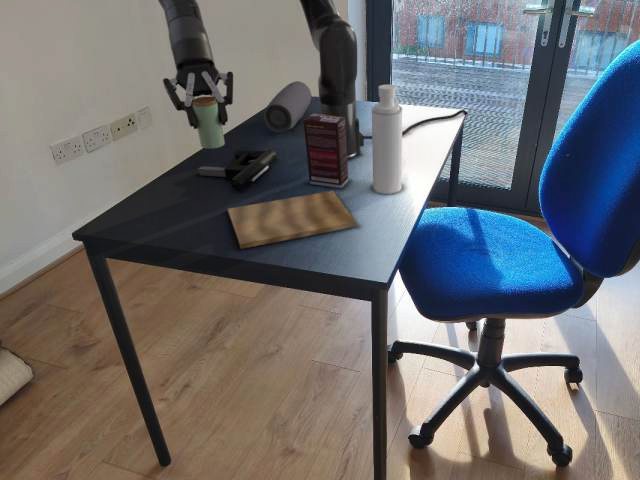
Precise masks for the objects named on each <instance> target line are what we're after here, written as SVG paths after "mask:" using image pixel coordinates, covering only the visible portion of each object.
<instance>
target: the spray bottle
mask: <svg viewBox="0 0 640 480" xmlns="http://www.w3.org/2000/svg"><path fill="white" fill-rule="evenodd" d="M395 97H396V86H395V85H393V84H381V85H378V98H379V102H376V103H375V104H374V105H373V106H372V107H371V136H372V139H371V142H372V143H371V145H372V147H371V148H372V150H371V151H372V188H373V191H375V192H376V193H379V194H384V195H392V194H396V193H398V192H400V191H401V190H402V179H403V178H402V176H403V175H402V174H403V173H402V170H403V168H402V167H403V165H402V164H403V161H402V160H403V136H402V132H403V107H402V106H401V105H400V104H399V103H397V102H395Z"/></svg>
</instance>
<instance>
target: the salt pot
mask: <svg viewBox="0 0 640 480" xmlns="http://www.w3.org/2000/svg"><path fill="white" fill-rule="evenodd" d="M192 106H193V110H194V114H195V118H196V122H197V127H198V129H196V130H197V134H198V138H199V143H200V147H201V148H203V149H218V148H221V147H223V146H225V144H226V141H225V135H224V131H223V125H222V124H221V119H220V114H219V109H218V103H217V101H216V99H215V98H214V97H211V96H198V97H195V98H194V100H193V104H192Z"/></svg>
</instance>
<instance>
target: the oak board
mask: <svg viewBox="0 0 640 480" xmlns="http://www.w3.org/2000/svg"><path fill="white" fill-rule="evenodd" d="M227 213H228V216H229V220H230V222H231V225H232V227H233V231H234V235H235V236H236V239H237V242H238V246H239V248H240V249H241V250H243V249H248V248H254V247H258V246H263V245H268V244H273V243H278V242H284V241H290V240H294V239H299V238H305V237H310V236H313V235H319V234H325V233H332V232H336V231H341V230H347V229H351V228H356V226H357V225H356V223H357V222H356V220H355V219H354V218H353V216H352V215H351V213H350V212H349V211H348V209H347V207H345V205H344V204H343V202H342V201H341V199H340V198H339V197H338V196H337V194H336V193H335V191H334V190H329V191H322V192H317V193H312V194H311V193H310V194H306V195H300V196H299V195H298V196H293V197H288V198H282V199H276V200H270V201H265V202H259V203H254V204H252V203H251V204H247V205H242V206H241V205H240V206H236V207H230V208H227Z"/></svg>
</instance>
